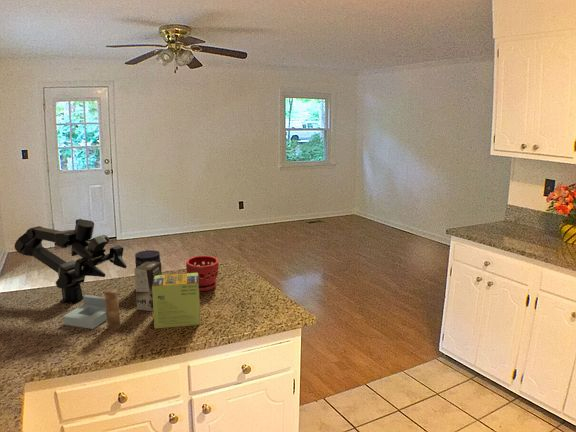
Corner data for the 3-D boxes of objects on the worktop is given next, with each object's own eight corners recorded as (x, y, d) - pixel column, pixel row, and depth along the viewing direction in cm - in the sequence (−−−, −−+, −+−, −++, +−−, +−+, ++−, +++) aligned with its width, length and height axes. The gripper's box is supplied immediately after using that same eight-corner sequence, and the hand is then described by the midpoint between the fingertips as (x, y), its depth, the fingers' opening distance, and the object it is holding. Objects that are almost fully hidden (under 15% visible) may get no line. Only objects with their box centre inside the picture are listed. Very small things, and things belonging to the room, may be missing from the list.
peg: (105, 329, 149) (101, 293, 146) (112, 324, 152) (109, 288, 150) (115, 330, 148) (112, 294, 145) (122, 325, 151) (119, 290, 149)
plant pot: (181, 292, 180) (180, 264, 178) (195, 280, 193) (194, 254, 190) (212, 295, 178) (211, 266, 175) (223, 283, 190) (222, 256, 187)
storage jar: (152, 282, 191) (150, 248, 187) (167, 287, 185) (165, 253, 182) (132, 289, 183) (129, 254, 180) (147, 294, 177) (144, 259, 174)
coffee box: (152, 311, 162) (149, 269, 159) (136, 309, 164) (133, 268, 160) (164, 301, 171) (161, 261, 168) (148, 300, 172) (146, 260, 169)
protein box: (200, 325, 152) (198, 282, 149) (154, 329, 149) (151, 286, 146) (200, 312, 162) (198, 272, 159) (156, 315, 159) (153, 275, 156)
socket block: (63, 324, 152) (61, 308, 151) (87, 309, 163) (86, 294, 162) (93, 329, 149) (91, 312, 147) (115, 314, 160) (114, 298, 159)
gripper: (65, 238, 152) (95, 260, 146) (110, 225, 167) (139, 244, 162) (62, 265, 156) (92, 287, 150) (106, 250, 172) (134, 269, 166)
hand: (115, 271), depth 157 cm, fingers open, 9 cm apart
